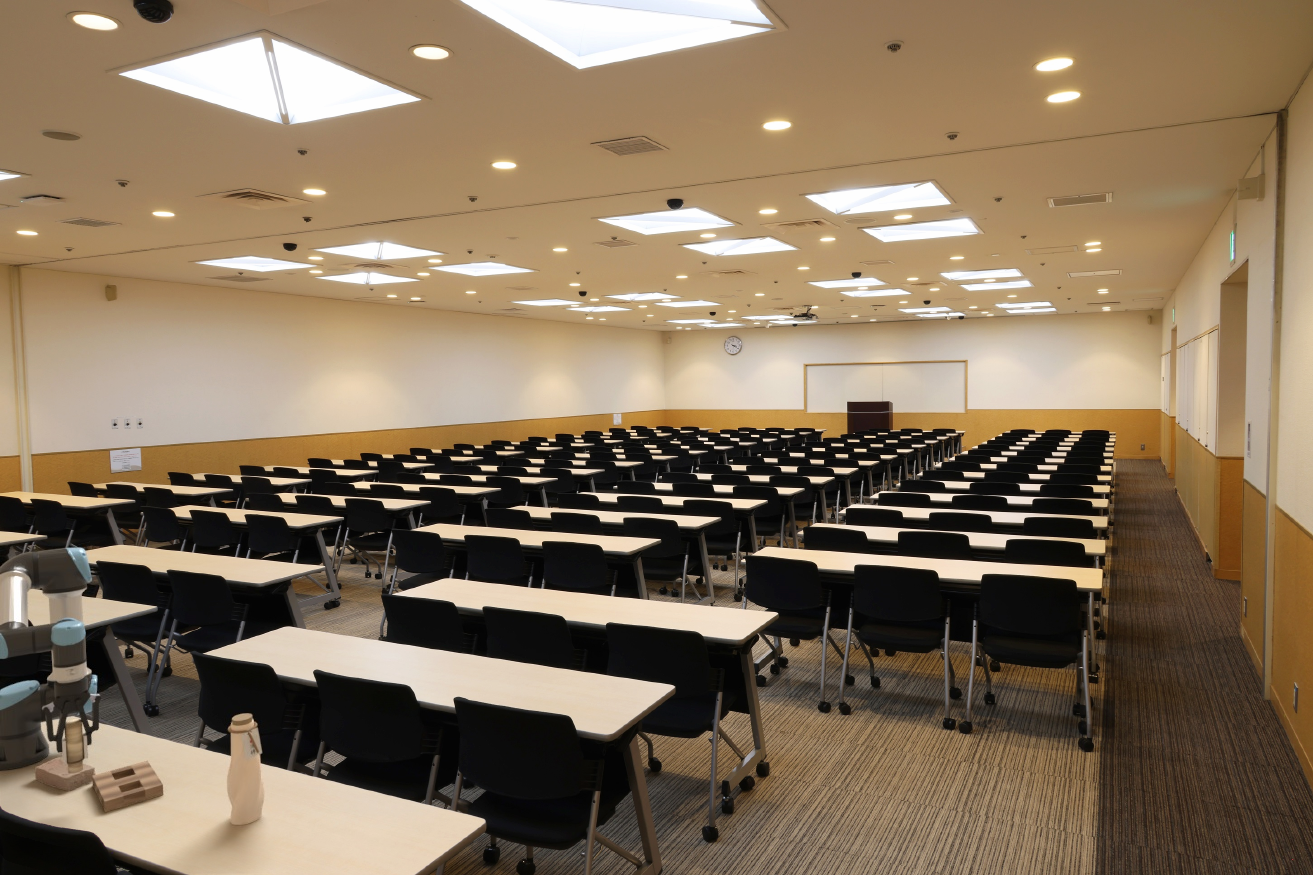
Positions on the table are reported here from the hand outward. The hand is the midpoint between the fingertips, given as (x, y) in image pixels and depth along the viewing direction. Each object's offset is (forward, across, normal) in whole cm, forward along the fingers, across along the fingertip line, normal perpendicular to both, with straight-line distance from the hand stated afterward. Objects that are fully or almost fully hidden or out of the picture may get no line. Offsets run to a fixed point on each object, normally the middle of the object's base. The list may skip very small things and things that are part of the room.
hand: (75, 759), depth 228 cm
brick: (+14, 0, +19) cm, 24 cm away
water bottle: (+12, +33, -41) cm, 54 cm away
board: (+13, +12, -1) cm, 18 cm away
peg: (+3, 0, 0) cm, 3 cm away
